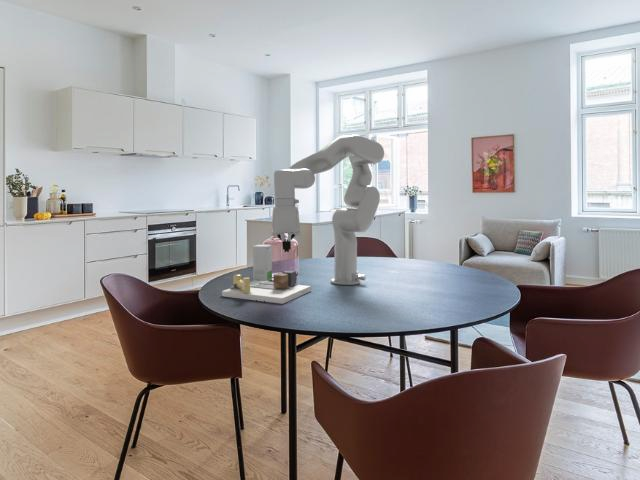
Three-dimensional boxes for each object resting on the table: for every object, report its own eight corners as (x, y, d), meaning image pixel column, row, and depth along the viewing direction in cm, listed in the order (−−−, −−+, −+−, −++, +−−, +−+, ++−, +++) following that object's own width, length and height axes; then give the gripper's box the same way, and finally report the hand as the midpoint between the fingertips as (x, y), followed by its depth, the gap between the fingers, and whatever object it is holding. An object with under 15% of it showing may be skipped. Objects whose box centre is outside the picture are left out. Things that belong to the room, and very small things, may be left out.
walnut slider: (288, 286, 179) (287, 273, 178) (282, 288, 175) (282, 275, 174) (279, 285, 180) (278, 273, 180) (273, 287, 177) (273, 274, 176)
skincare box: (266, 283, 198) (266, 246, 197) (252, 282, 200) (251, 246, 198) (272, 279, 206) (272, 244, 205) (258, 278, 208) (257, 243, 206)
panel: (310, 291, 183) (310, 285, 183) (282, 303, 163) (282, 297, 163) (252, 284, 195) (252, 279, 194) (220, 295, 175) (219, 289, 175)
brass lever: (251, 292, 170) (251, 278, 169) (243, 293, 168) (243, 278, 168) (240, 285, 182) (239, 272, 181) (232, 285, 180) (232, 272, 180)
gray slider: (296, 283, 184) (296, 271, 184) (291, 285, 181) (291, 272, 180) (287, 282, 186) (287, 270, 186) (282, 284, 183) (282, 272, 182)
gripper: (305, 201, 178) (307, 249, 181) (266, 202, 178) (268, 250, 181) (304, 203, 171) (306, 252, 173) (263, 204, 171) (265, 253, 174)
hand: (286, 251), depth 177 cm, fingers closed
